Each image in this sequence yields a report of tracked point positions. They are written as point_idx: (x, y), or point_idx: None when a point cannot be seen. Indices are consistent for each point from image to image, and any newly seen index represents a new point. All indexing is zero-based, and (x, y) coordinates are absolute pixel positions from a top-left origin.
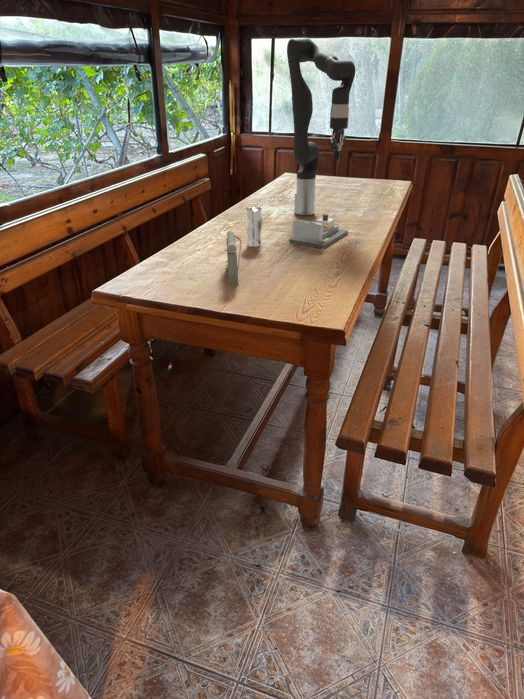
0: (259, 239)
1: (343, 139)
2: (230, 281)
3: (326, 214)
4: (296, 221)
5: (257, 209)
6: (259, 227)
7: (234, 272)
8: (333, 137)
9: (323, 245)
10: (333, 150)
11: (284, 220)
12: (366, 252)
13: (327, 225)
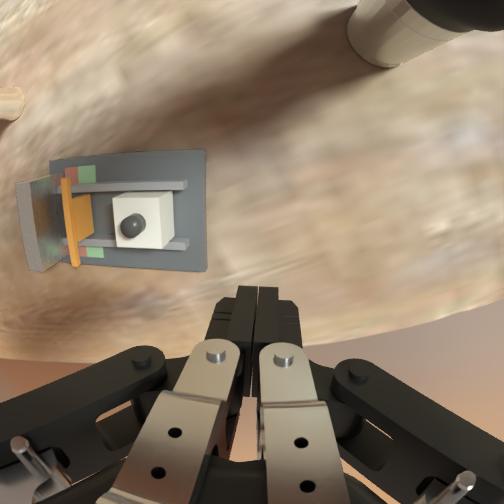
0: (2, 118)
1: (412, 500)
2: None
3: (137, 228)
4: (16, 193)
5: None
6: None
7: None
8: (4, 496)
9: (62, 261)
10: (203, 341)
11: (251, 9)
12: (107, 346)
13: (75, 266)
